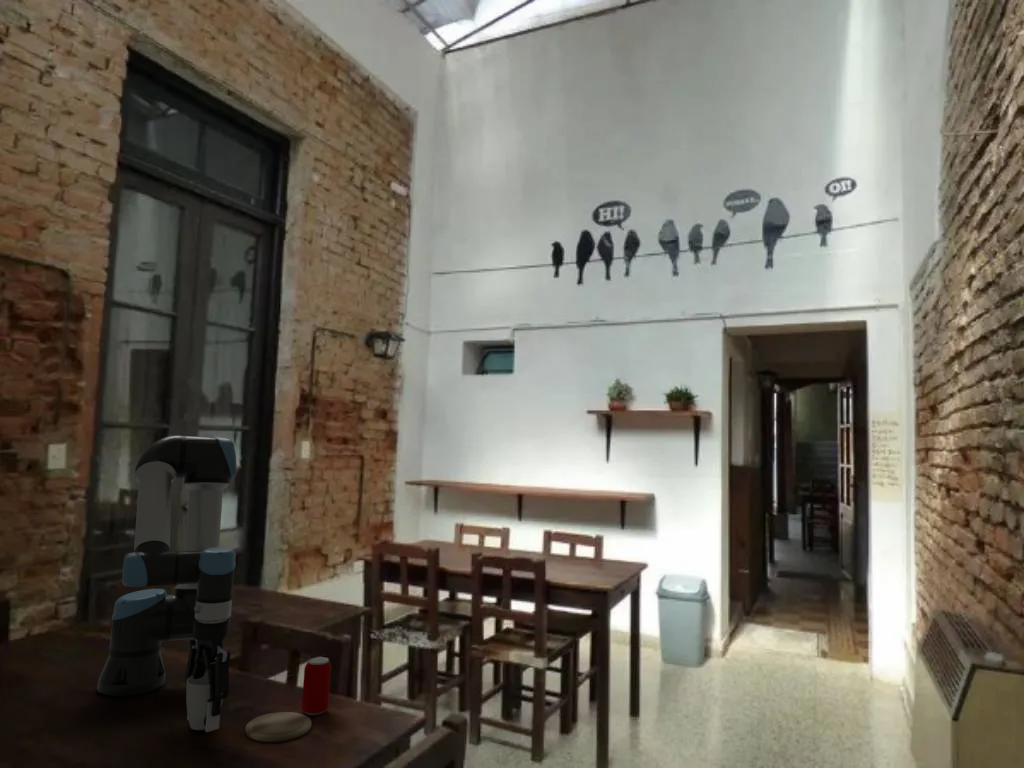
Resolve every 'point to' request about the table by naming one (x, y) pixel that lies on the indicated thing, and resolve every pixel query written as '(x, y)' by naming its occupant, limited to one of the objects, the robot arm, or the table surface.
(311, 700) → the beverage can
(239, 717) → the table surface
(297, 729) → the plate
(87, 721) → the table surface
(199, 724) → the cup
